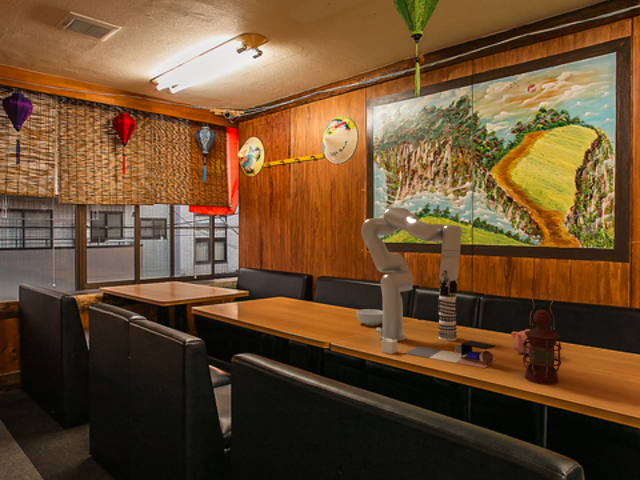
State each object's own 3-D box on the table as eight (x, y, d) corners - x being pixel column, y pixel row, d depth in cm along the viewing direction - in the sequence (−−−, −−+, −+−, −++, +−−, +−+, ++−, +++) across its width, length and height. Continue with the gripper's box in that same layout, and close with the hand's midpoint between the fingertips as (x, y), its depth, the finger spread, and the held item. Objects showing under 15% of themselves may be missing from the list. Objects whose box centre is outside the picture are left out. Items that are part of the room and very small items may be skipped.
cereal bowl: (378, 328, 233) (378, 315, 233) (351, 325, 242) (351, 312, 242) (391, 323, 247) (391, 310, 247) (365, 320, 256) (365, 308, 256)
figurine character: (454, 361, 178) (487, 366, 165) (452, 341, 178) (485, 345, 166) (465, 358, 181) (497, 363, 169) (463, 339, 182) (495, 343, 170)
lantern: (568, 381, 151) (569, 293, 150) (550, 388, 144) (551, 296, 143) (533, 371, 161) (534, 289, 160) (515, 378, 154) (515, 292, 153)
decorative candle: (439, 335, 217) (439, 285, 217) (458, 337, 213) (459, 286, 213) (435, 339, 209) (435, 287, 209) (455, 341, 205) (456, 288, 205)
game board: (404, 353, 184) (404, 352, 184) (418, 346, 196) (418, 346, 196) (484, 368, 165) (484, 367, 165) (495, 359, 176) (495, 359, 176)
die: (381, 352, 187) (381, 340, 187) (386, 349, 191) (386, 338, 191) (391, 354, 184) (391, 342, 184) (397, 351, 188) (397, 339, 188)
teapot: (509, 348, 193) (510, 325, 193) (539, 350, 191) (539, 326, 191) (517, 357, 179) (517, 332, 179) (548, 359, 177) (548, 334, 177)
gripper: (449, 252, 196) (447, 290, 197) (434, 254, 182) (431, 295, 183) (466, 254, 191) (464, 293, 192) (451, 256, 177) (449, 298, 178)
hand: (448, 294), depth 187 cm, fingers open, 9 cm apart
